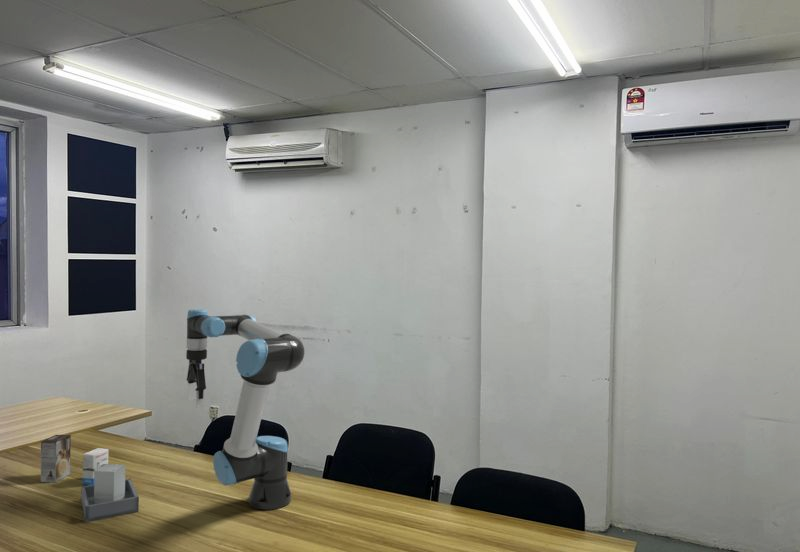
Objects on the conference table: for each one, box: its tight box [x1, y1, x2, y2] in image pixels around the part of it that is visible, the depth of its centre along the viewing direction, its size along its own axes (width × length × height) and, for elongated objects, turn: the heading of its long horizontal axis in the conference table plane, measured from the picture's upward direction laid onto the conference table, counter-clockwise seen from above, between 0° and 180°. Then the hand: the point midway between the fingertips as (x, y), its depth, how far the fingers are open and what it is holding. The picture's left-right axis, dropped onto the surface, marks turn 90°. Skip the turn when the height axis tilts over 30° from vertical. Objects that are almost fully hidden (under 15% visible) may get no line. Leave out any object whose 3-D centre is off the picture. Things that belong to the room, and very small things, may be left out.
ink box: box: [82, 447, 109, 486], centre depth 217 cm, size 9×5×12 cm, turn 168°
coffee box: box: [40, 434, 72, 483], centre depth 219 cm, size 9×6×16 cm
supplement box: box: [94, 463, 126, 504], centre depth 195 cm, size 7×7×13 cm
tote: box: [80, 478, 140, 523], centre depth 195 cm, size 20×16×5 cm
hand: (195, 403), depth 216 cm, fingers open, 13 cm apart
